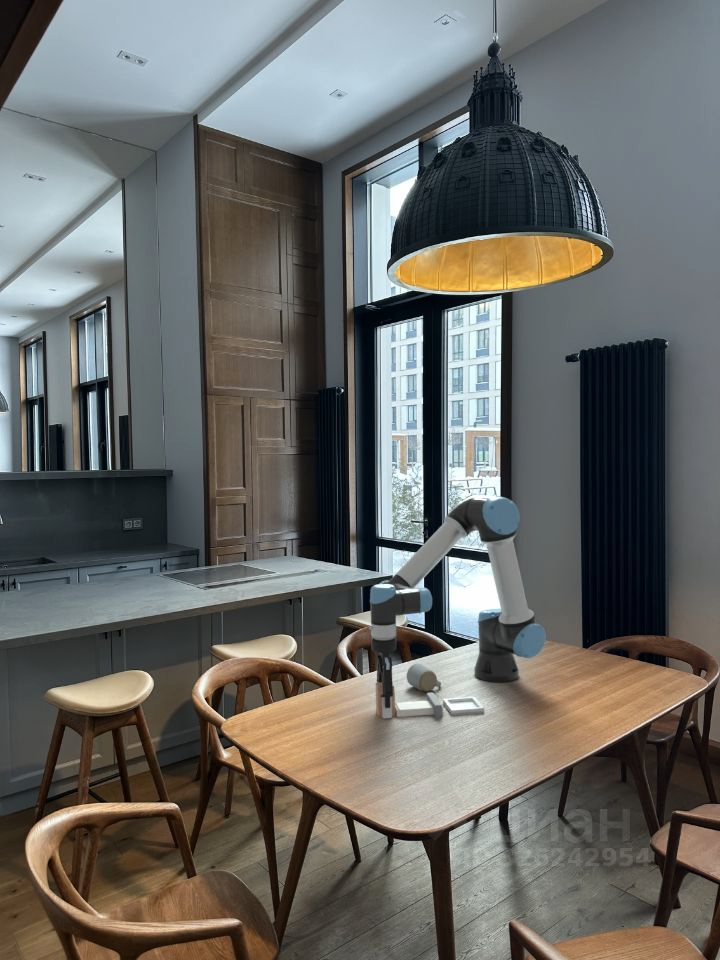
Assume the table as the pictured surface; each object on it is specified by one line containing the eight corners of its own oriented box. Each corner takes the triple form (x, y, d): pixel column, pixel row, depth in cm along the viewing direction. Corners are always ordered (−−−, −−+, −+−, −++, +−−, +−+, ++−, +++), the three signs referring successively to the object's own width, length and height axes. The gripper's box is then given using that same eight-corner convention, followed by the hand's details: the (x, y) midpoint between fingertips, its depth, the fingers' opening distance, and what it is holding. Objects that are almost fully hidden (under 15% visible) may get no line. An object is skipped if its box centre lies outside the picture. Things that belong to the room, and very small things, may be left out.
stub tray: (474, 701, 214) (474, 696, 214) (484, 712, 204) (484, 707, 204) (443, 703, 213) (443, 698, 213) (451, 715, 203) (451, 710, 203)
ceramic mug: (420, 694, 221) (420, 671, 221) (406, 687, 228) (406, 664, 228) (446, 689, 226) (446, 666, 226) (432, 682, 234) (432, 660, 233)
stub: (392, 711, 208) (392, 681, 207) (395, 715, 204) (394, 685, 203) (376, 712, 207) (375, 682, 207) (378, 717, 203) (377, 687, 203)
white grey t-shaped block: (436, 703, 213) (436, 692, 213) (445, 716, 202) (445, 704, 202) (392, 706, 211) (391, 695, 211) (398, 720, 200) (398, 708, 200)
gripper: (366, 629, 214) (368, 702, 214) (376, 646, 194) (377, 726, 195) (390, 628, 215) (391, 700, 215) (402, 644, 195) (403, 724, 196)
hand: (385, 713), depth 205 cm, fingers open, 7 cm apart
